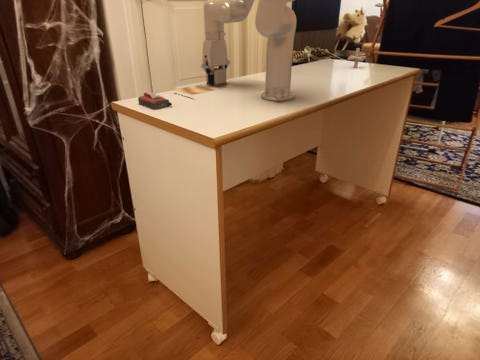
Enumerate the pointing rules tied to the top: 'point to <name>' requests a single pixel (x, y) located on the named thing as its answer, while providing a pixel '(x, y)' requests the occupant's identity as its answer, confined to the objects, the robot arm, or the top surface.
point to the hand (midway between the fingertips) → (216, 82)
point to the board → (199, 89)
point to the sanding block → (218, 77)
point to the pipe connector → (357, 57)
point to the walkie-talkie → (153, 101)
